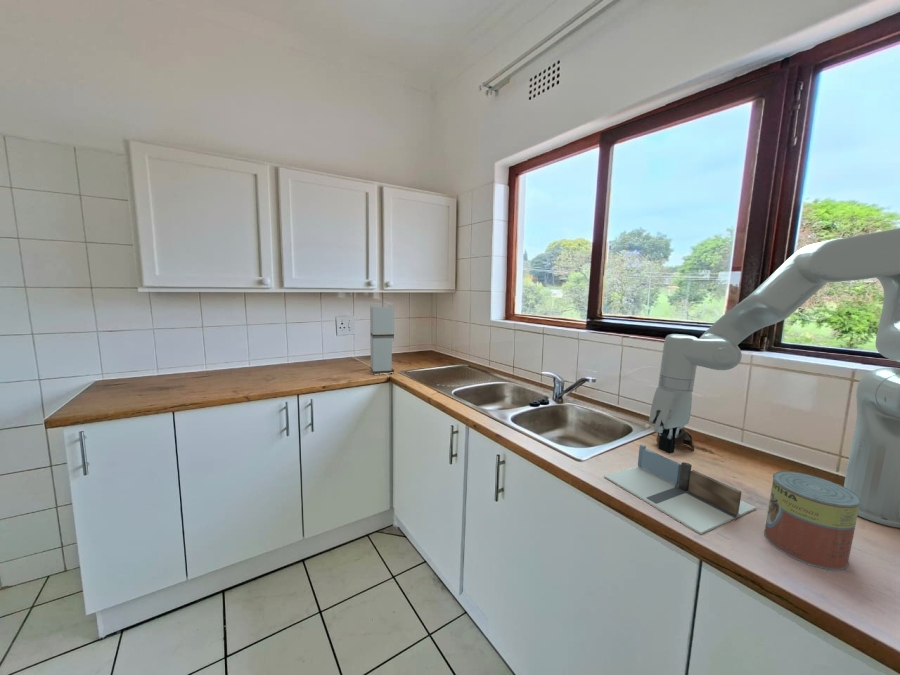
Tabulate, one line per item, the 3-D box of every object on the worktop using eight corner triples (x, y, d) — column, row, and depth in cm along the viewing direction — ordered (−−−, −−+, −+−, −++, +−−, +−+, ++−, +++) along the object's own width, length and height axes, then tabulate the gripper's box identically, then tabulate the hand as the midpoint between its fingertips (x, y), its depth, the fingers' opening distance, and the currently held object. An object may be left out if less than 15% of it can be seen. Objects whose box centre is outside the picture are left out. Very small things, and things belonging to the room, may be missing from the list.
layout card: (756, 509, 78) (757, 507, 78) (701, 535, 70) (702, 532, 69) (656, 461, 99) (656, 460, 99) (603, 477, 90) (604, 475, 90)
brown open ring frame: (702, 457, 103) (694, 435, 101) (667, 465, 107) (658, 444, 104) (685, 431, 114) (677, 411, 112) (654, 439, 118) (645, 420, 115)
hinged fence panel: (679, 483, 86) (682, 462, 86) (675, 485, 86) (678, 463, 85) (639, 464, 96) (642, 444, 95) (636, 465, 95) (638, 445, 94)
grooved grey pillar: (393, 374, 189) (394, 307, 184) (373, 375, 186) (372, 307, 181) (390, 369, 200) (390, 306, 195) (370, 370, 196) (370, 306, 191)
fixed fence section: (739, 516, 76) (743, 487, 75) (733, 519, 75) (738, 489, 74) (681, 487, 86) (684, 461, 85) (676, 489, 85) (679, 463, 84)
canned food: (757, 519, 75) (766, 465, 73) (833, 540, 69) (844, 481, 67) (772, 553, 65) (782, 492, 63) (861, 580, 59) (875, 513, 58)
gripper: (679, 377, 98) (670, 440, 101) (642, 381, 91) (634, 449, 94) (709, 384, 91) (698, 452, 94) (671, 390, 85) (661, 462, 88)
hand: (666, 450), depth 94 cm, fingers closed
